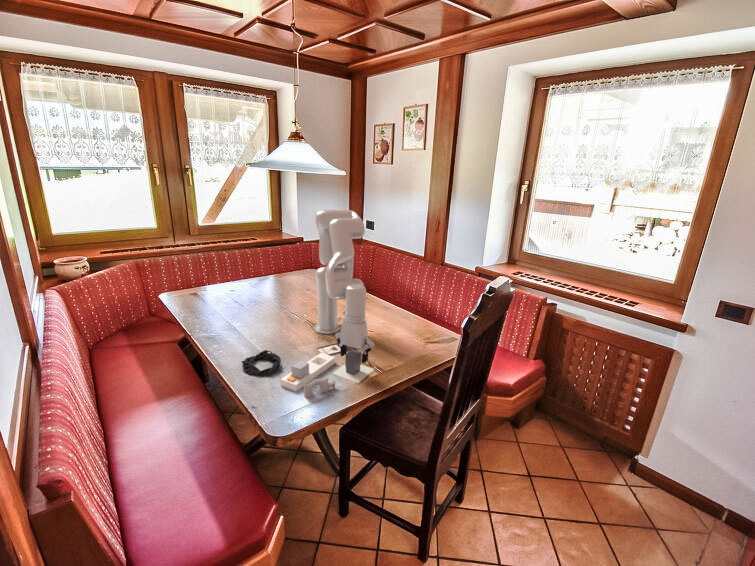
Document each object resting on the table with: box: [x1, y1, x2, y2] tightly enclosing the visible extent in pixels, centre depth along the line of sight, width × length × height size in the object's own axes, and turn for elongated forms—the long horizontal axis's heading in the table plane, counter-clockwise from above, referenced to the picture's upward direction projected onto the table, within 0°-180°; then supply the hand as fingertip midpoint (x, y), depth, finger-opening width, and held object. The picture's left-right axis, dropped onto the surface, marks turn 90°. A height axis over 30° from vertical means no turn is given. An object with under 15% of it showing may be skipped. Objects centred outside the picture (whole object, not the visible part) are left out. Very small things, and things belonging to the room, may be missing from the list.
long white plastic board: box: [280, 352, 336, 392], centre depth 142 cm, size 24×7×4 cm, turn 152°
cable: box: [241, 349, 282, 377], centre depth 146 cm, size 17×14×4 cm
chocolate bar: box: [316, 342, 356, 356], centre depth 164 cm, size 9×1×18 cm
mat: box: [331, 363, 375, 384], centre depth 146 cm, size 12×12×1 cm
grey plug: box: [291, 360, 309, 379], centre depth 137 cm, size 5×4×6 cm
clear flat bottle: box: [303, 377, 337, 399], centre depth 130 cm, size 12×2×6 cm, turn 124°
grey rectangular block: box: [344, 349, 362, 375], centre depth 144 cm, size 5×4×8 cm
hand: (353, 358), depth 144 cm, fingers open, 9 cm apart
